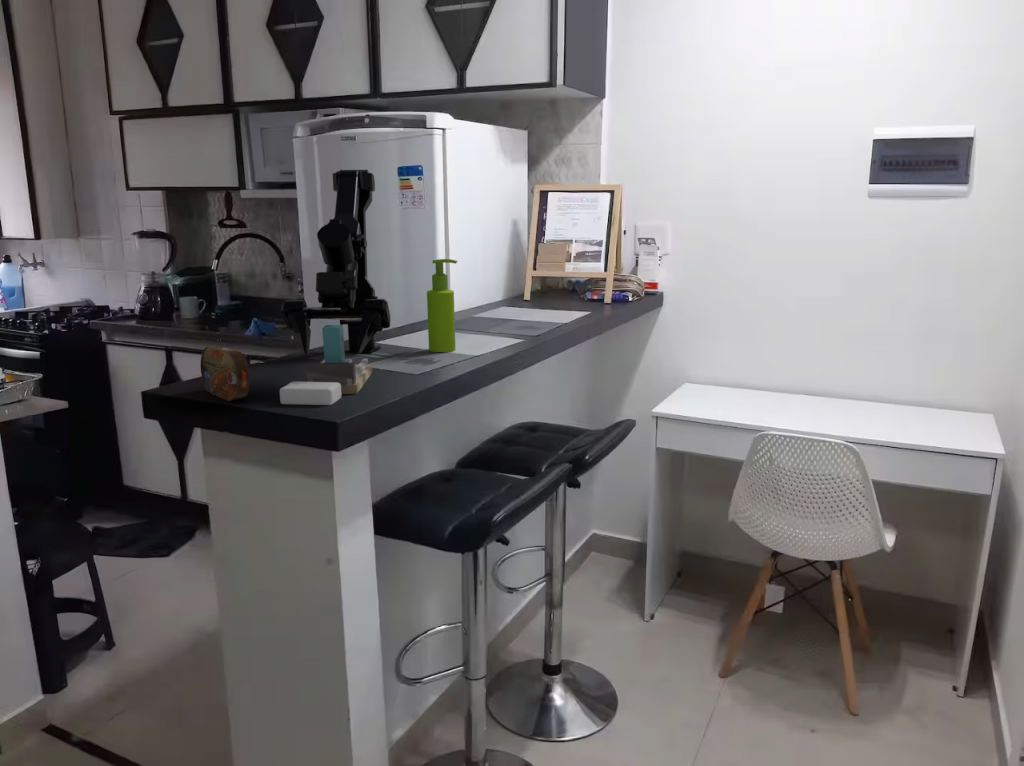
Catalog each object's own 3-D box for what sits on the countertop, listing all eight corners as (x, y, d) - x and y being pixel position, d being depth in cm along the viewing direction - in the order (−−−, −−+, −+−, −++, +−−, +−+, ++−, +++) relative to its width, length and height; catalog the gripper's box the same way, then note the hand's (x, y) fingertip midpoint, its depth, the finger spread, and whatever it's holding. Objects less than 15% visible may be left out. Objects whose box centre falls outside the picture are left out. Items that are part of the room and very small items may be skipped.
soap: (343, 398, 129) (341, 381, 129) (331, 407, 124) (330, 389, 123) (292, 397, 130) (291, 380, 130) (279, 405, 125) (277, 388, 124)
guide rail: (325, 372, 148) (324, 347, 146) (372, 372, 148) (370, 346, 147) (304, 394, 131) (302, 366, 130) (357, 393, 131) (355, 365, 130)
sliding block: (325, 375, 138) (321, 324, 136) (352, 375, 138) (349, 324, 136) (318, 381, 133) (315, 329, 131) (347, 381, 133) (344, 328, 131)
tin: (201, 390, 135) (196, 343, 133) (218, 387, 138) (213, 341, 136) (237, 405, 125) (232, 355, 123) (255, 402, 127) (250, 352, 125)
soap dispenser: (459, 352, 166) (456, 260, 161) (427, 352, 166) (424, 260, 161) (460, 347, 172) (458, 258, 167) (430, 347, 172) (427, 258, 167)
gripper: (279, 255, 134) (266, 327, 126) (385, 253, 134) (379, 325, 126) (293, 294, 143) (283, 363, 135) (392, 292, 144) (388, 361, 136)
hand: (332, 353), depth 133 cm, fingers open, 9 cm apart
